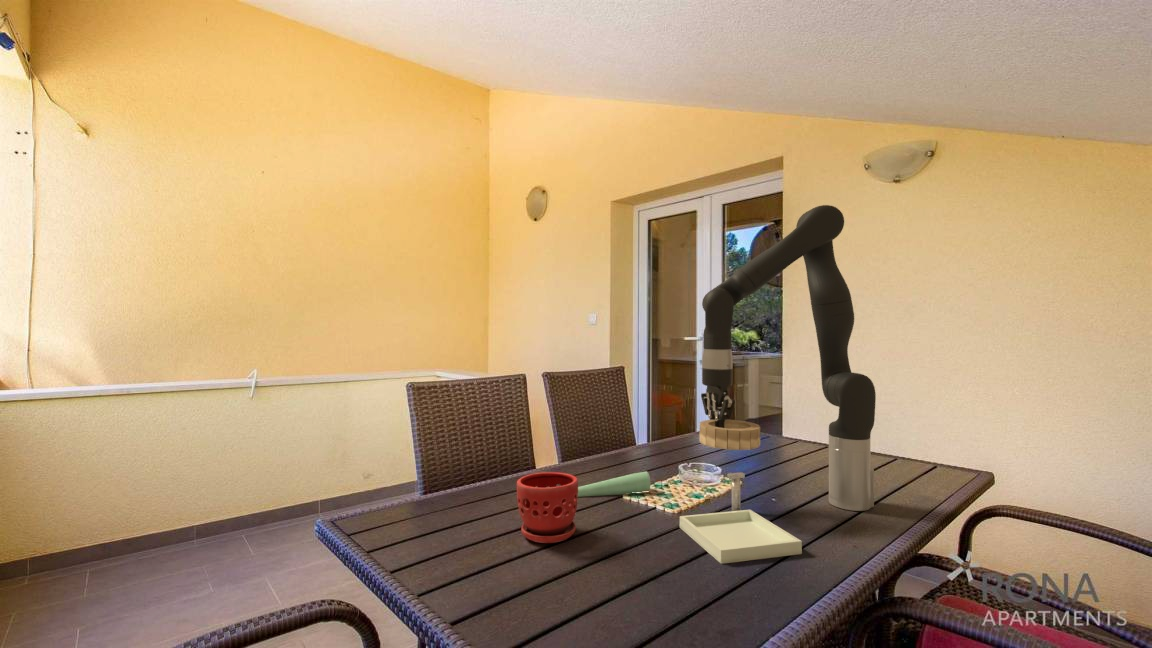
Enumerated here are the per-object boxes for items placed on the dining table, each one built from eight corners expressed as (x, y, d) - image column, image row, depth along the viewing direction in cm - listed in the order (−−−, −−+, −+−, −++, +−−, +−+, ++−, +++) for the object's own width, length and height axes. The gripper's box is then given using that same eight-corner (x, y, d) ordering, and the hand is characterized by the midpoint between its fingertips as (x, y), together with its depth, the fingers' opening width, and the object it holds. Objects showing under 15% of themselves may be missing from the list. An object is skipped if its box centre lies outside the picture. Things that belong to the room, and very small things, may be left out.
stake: (740, 508, 123) (740, 471, 123) (745, 511, 121) (745, 474, 122) (726, 510, 122) (726, 473, 122) (730, 513, 120) (730, 475, 121)
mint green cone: (548, 475, 134) (643, 468, 140) (548, 495, 134) (643, 488, 140) (551, 481, 129) (650, 474, 134) (551, 502, 128) (650, 495, 134)
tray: (749, 520, 116) (749, 509, 116) (801, 553, 99) (801, 541, 99) (679, 527, 112) (679, 516, 112) (721, 563, 95) (721, 550, 95)
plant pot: (585, 527, 112) (586, 473, 112) (565, 552, 99) (565, 491, 99) (531, 519, 116) (532, 467, 116) (505, 542, 104) (506, 484, 104)
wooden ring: (739, 435, 132) (739, 418, 132) (771, 448, 118) (772, 429, 118) (690, 438, 128) (690, 420, 128) (717, 451, 115) (717, 431, 115)
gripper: (745, 368, 123) (745, 439, 123) (717, 364, 137) (716, 428, 137) (717, 369, 122) (717, 441, 121) (691, 365, 135) (691, 429, 135)
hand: (717, 434), depth 129 cm, fingers closed on wooden ring, 2 cm apart
